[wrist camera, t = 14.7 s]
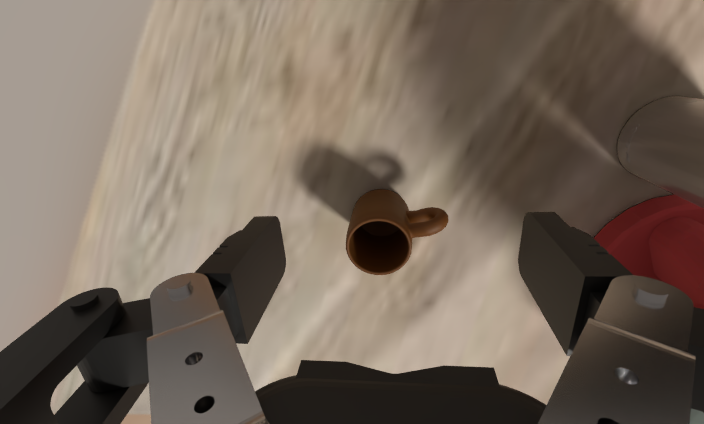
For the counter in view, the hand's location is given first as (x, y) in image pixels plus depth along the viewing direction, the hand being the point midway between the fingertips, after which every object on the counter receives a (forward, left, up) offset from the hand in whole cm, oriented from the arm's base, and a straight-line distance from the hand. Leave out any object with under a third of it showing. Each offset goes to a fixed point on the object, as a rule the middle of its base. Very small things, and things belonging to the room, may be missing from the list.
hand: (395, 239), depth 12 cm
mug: (0, +13, -33) cm, 36 cm away
